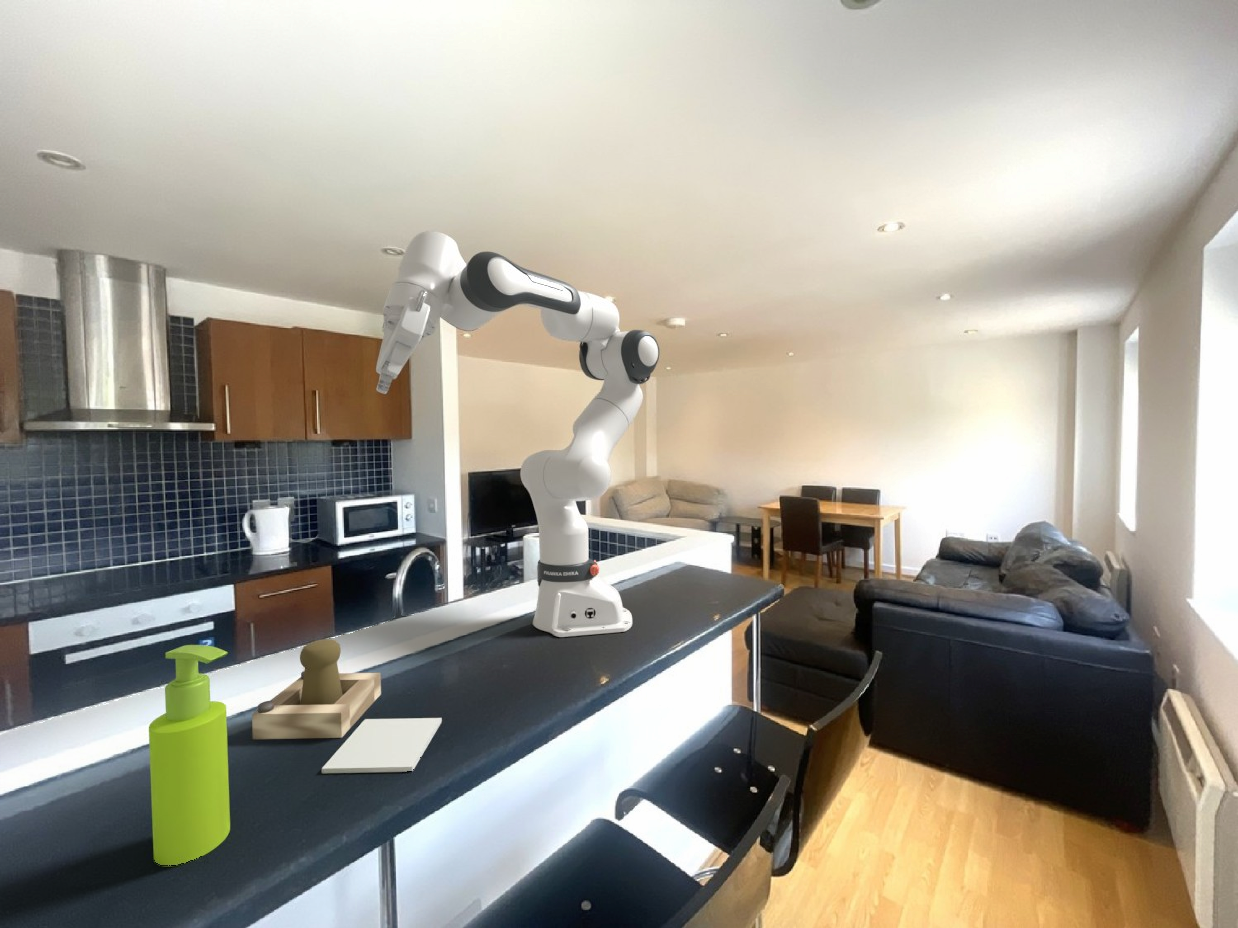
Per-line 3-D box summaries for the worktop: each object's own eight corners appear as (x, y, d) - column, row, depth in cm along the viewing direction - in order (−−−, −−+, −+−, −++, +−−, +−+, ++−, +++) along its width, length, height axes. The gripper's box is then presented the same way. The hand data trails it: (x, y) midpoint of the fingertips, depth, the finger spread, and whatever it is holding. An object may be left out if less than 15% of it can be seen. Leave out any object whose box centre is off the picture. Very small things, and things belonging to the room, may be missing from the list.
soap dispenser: (195, 873, 47) (187, 664, 46) (137, 860, 48) (129, 657, 47) (252, 826, 53) (246, 639, 52) (199, 816, 54) (193, 634, 53)
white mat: (441, 721, 72) (441, 717, 72) (412, 771, 61) (412, 766, 61) (365, 723, 72) (364, 719, 72) (321, 773, 61) (321, 768, 61)
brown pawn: (288, 721, 73) (286, 647, 72) (325, 701, 78) (323, 632, 78) (318, 729, 70) (316, 653, 70) (354, 708, 76) (352, 637, 76)
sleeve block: (380, 693, 81) (380, 667, 80) (341, 737, 69) (340, 706, 68) (305, 695, 80) (304, 668, 80) (252, 739, 68) (251, 708, 68)
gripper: (446, 295, 80) (421, 370, 75) (416, 342, 96) (394, 406, 92) (406, 275, 77) (377, 352, 72) (382, 327, 93) (357, 393, 89)
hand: (386, 383), depth 82 cm, fingers open, 8 cm apart
